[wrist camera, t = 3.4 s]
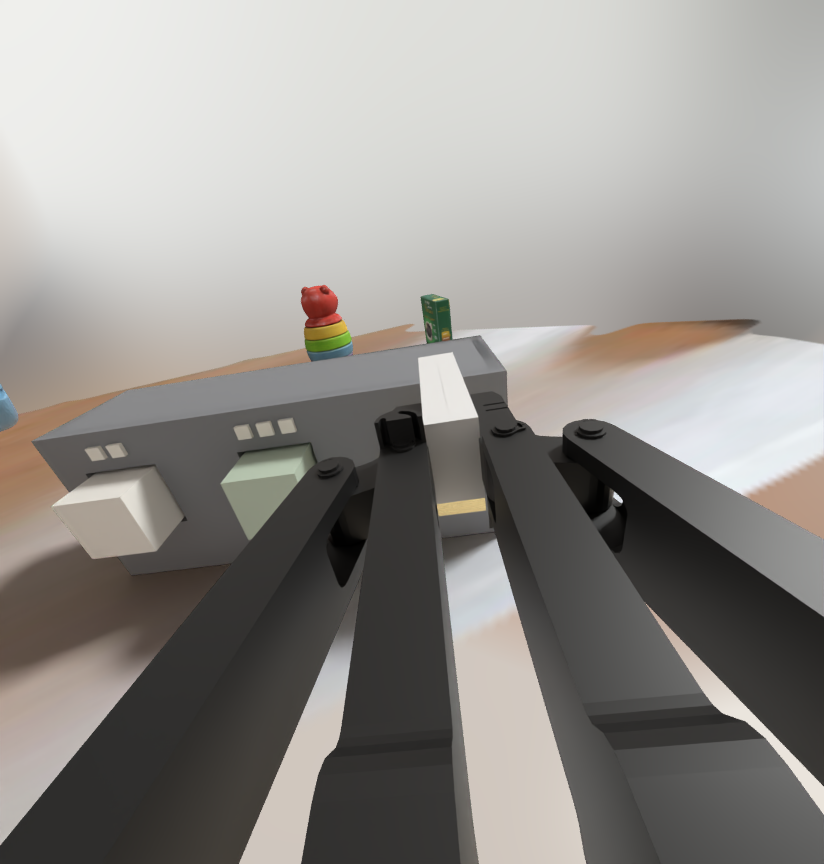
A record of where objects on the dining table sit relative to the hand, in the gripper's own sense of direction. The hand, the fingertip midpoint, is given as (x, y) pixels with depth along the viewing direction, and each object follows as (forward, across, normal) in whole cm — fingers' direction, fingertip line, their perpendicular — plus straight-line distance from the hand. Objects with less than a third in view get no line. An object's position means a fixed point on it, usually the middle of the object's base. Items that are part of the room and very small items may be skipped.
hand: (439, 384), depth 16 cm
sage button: (+7, -12, -11) cm, 18 cm away
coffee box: (+53, +2, -16) cm, 56 cm away
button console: (+13, -12, -16) cm, 24 cm away
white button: (+7, -24, -11) cm, 28 cm away
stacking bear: (+59, -20, -16) cm, 64 cm away
